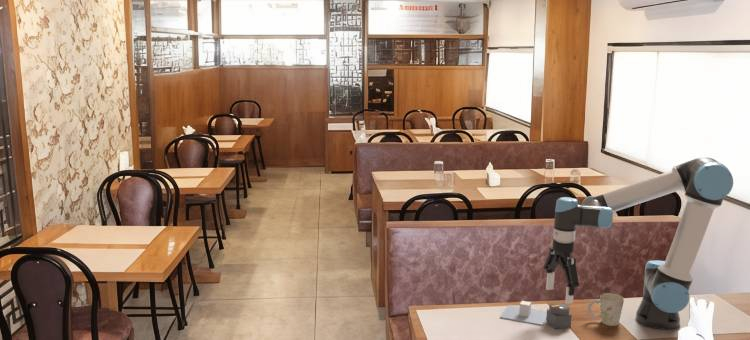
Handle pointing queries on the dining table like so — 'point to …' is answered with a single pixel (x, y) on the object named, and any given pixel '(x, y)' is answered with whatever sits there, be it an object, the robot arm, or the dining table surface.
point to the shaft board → (531, 319)
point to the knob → (558, 316)
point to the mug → (608, 308)
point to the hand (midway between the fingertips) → (559, 296)
